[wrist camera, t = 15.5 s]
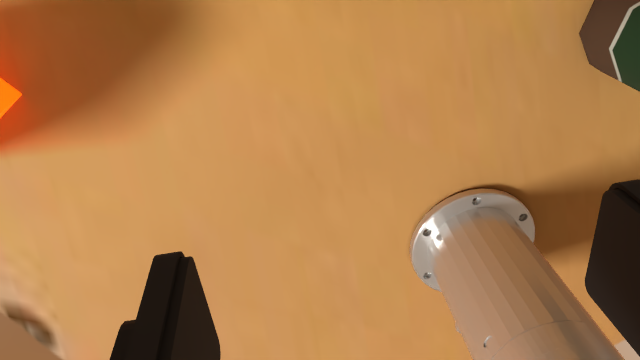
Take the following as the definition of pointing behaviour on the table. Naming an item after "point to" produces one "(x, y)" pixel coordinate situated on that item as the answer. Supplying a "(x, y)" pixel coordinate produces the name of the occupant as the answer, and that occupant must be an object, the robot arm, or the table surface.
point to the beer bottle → (614, 39)
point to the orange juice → (7, 96)
